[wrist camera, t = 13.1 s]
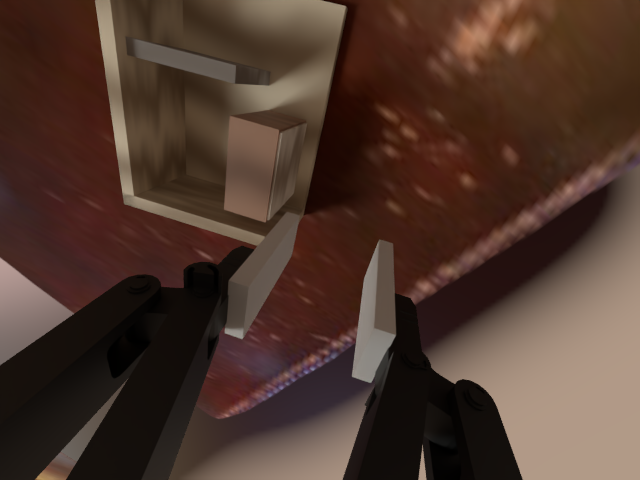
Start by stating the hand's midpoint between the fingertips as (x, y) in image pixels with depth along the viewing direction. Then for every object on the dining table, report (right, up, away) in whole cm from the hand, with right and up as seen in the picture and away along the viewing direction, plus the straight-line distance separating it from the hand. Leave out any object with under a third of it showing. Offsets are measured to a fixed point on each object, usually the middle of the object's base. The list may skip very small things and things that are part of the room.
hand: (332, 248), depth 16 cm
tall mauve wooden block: (-5, +10, +14) cm, 18 cm away
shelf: (-8, +14, +14) cm, 21 cm away
